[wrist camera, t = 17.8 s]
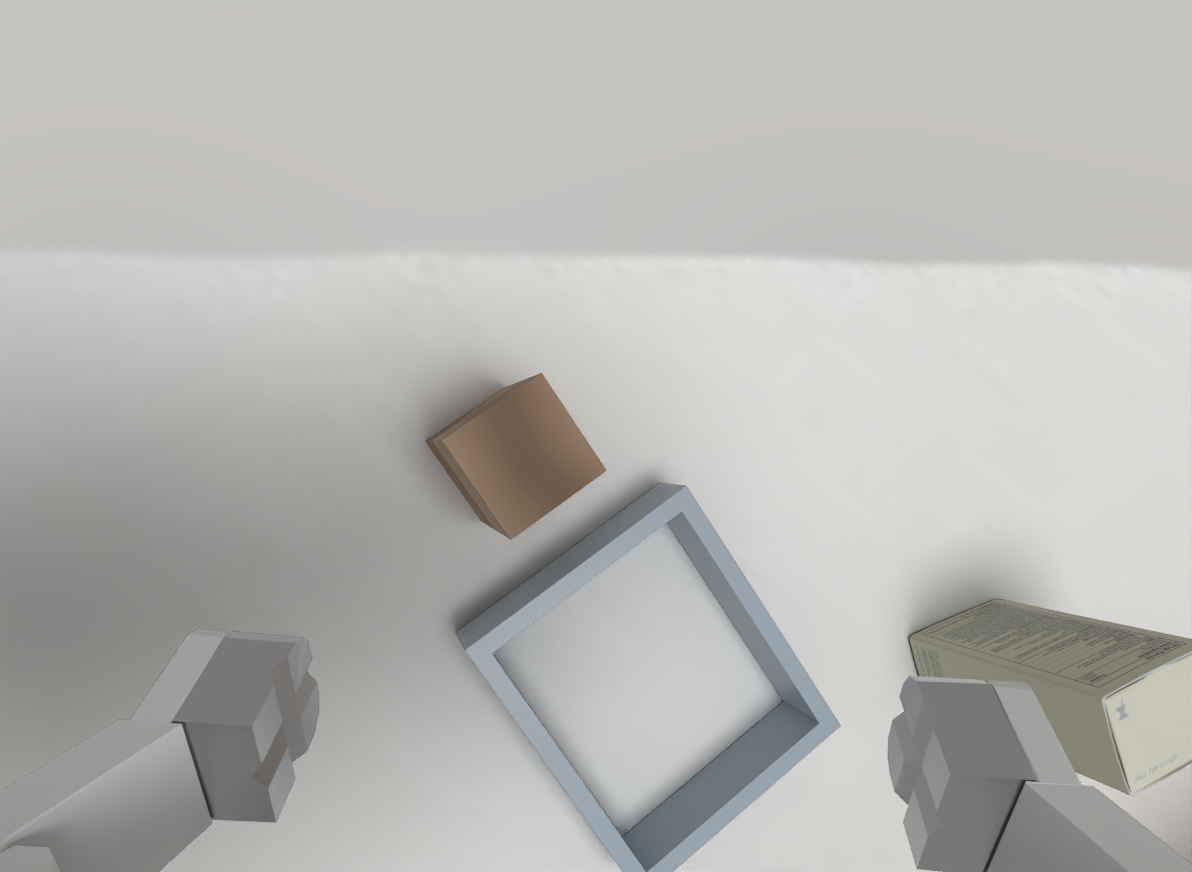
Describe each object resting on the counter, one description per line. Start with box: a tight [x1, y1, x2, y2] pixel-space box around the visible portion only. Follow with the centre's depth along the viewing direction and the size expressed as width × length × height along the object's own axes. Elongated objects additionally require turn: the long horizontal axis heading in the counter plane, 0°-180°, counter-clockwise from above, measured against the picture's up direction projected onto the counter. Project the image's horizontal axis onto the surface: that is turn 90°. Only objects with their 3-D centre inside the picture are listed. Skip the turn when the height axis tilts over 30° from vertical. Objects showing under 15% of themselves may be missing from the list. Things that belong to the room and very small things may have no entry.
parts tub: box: [456, 483, 841, 872], centre depth 39 cm, size 12×14×4 cm
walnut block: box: [426, 373, 606, 539], centre depth 35 cm, size 4×4×8 cm
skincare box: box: [910, 599, 1192, 796], centre depth 40 cm, size 6×4×12 cm
